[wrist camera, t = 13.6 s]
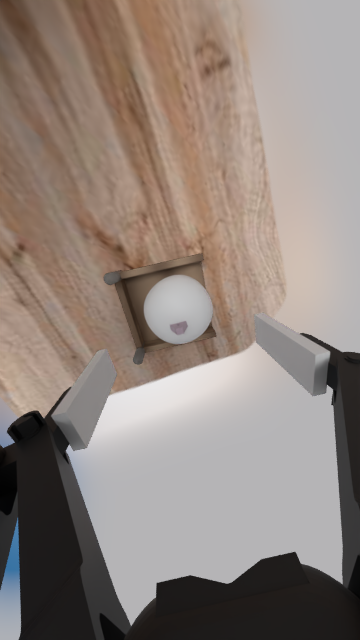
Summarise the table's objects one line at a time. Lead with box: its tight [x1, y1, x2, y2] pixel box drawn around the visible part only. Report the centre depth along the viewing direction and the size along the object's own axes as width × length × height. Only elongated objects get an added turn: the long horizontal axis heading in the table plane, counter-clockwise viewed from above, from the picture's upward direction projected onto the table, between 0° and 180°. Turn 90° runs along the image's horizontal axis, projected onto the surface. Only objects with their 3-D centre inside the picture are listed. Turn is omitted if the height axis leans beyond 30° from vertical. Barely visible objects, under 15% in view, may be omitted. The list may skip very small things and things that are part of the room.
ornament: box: [144, 275, 213, 344], centre depth 26 cm, size 10×10×12 cm
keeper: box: [104, 253, 216, 364], centre depth 30 cm, size 15×15×6 cm
